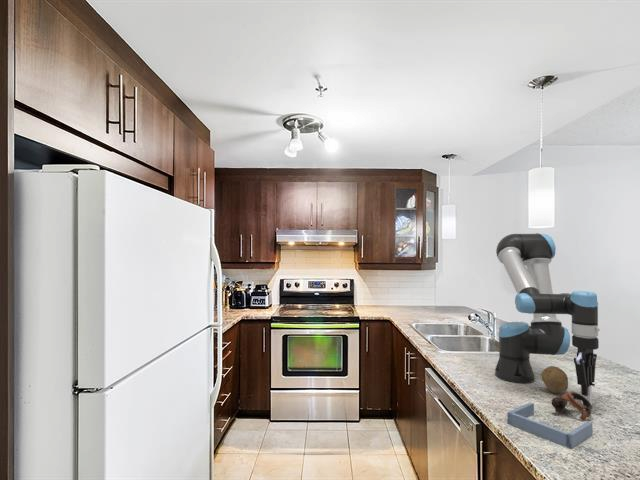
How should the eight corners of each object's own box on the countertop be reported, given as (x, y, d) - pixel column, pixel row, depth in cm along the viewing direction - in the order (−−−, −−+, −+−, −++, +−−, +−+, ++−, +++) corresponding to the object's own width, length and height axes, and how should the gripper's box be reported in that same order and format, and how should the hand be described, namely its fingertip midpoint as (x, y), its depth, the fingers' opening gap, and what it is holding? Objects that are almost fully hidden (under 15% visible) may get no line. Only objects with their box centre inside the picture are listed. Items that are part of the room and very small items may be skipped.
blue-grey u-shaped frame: (507, 423, 116) (507, 412, 116) (530, 412, 124) (530, 402, 124) (571, 448, 101) (570, 436, 101) (592, 434, 109) (592, 422, 109)
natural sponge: (543, 386, 148) (543, 361, 149) (570, 391, 143) (569, 365, 143) (539, 393, 141) (539, 367, 142) (567, 399, 136) (567, 371, 136)
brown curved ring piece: (568, 407, 129) (581, 391, 126) (587, 431, 121) (602, 414, 117) (539, 401, 127) (552, 384, 124) (556, 425, 119) (571, 407, 115)
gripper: (589, 340, 121) (591, 412, 121) (605, 335, 129) (607, 403, 128) (564, 336, 128) (566, 404, 127) (580, 331, 135) (582, 396, 134)
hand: (586, 404), depth 127 cm, fingers closed
